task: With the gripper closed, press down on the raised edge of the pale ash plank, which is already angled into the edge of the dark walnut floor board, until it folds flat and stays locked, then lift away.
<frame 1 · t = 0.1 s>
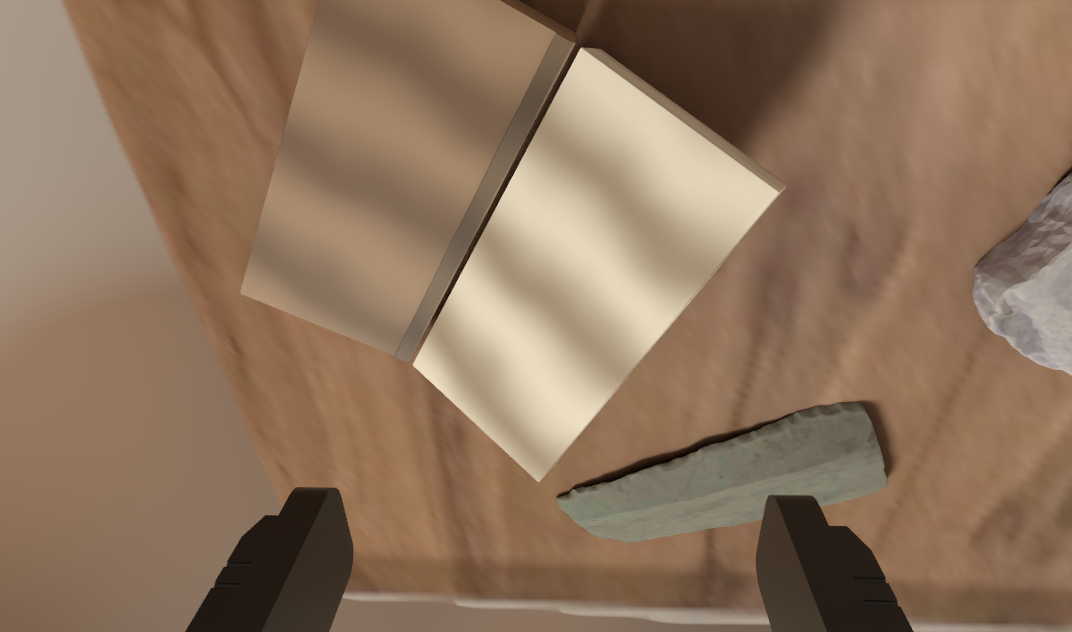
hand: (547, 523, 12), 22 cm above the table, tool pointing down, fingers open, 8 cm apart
stone slab: (713, 478, 46), on the table
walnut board: (393, 169, 32), on the table
ash plank: (565, 291, 31), point 4 cm above the table, hinge at 30.0°
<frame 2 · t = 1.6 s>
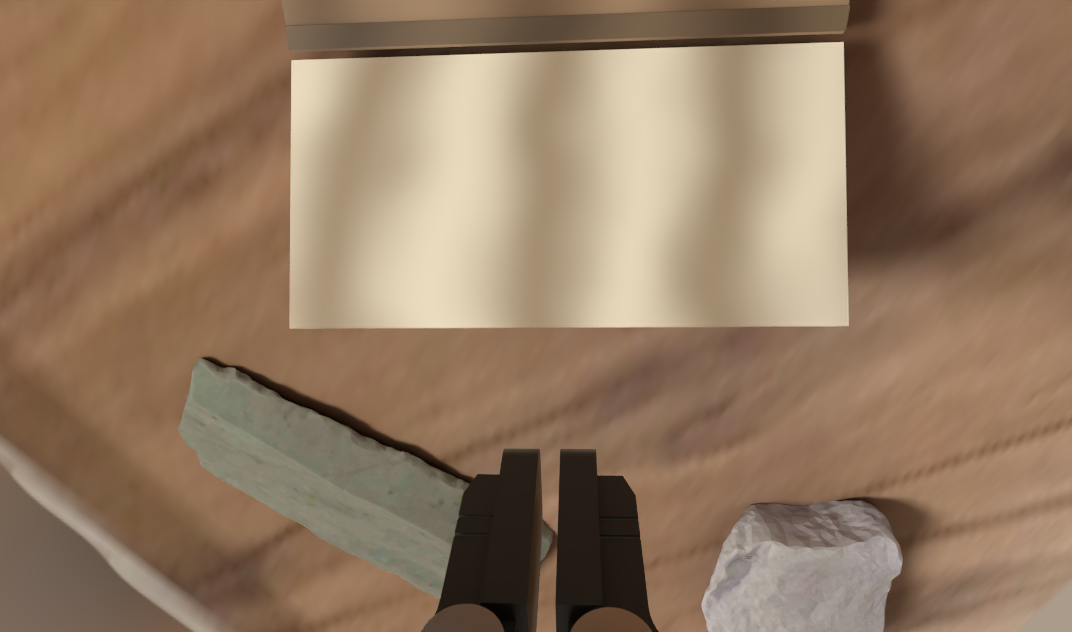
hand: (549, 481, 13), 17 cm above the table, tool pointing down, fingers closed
stone slab: (363, 484, 37), on the table
ash plank: (561, 194, 23), point 4 cm above the table, hinge at 30.0°
stone block: (778, 563, 38), on the table
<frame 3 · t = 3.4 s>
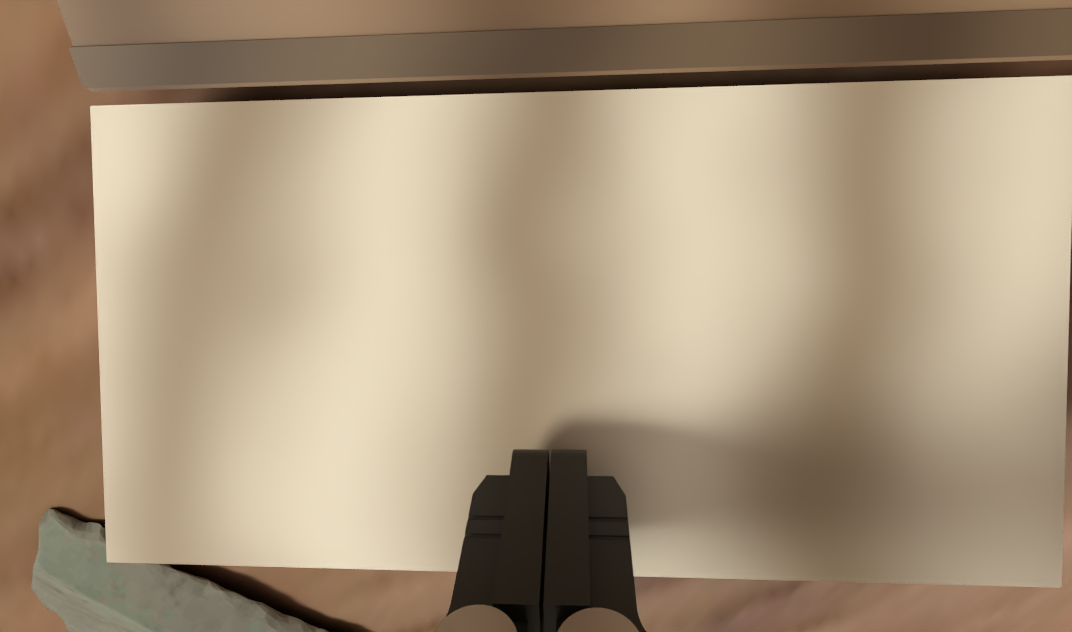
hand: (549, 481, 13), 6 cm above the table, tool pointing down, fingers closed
ash plank: (557, 333, 14), point 3 cm above the table, hinge at 26.4°, touching gripper
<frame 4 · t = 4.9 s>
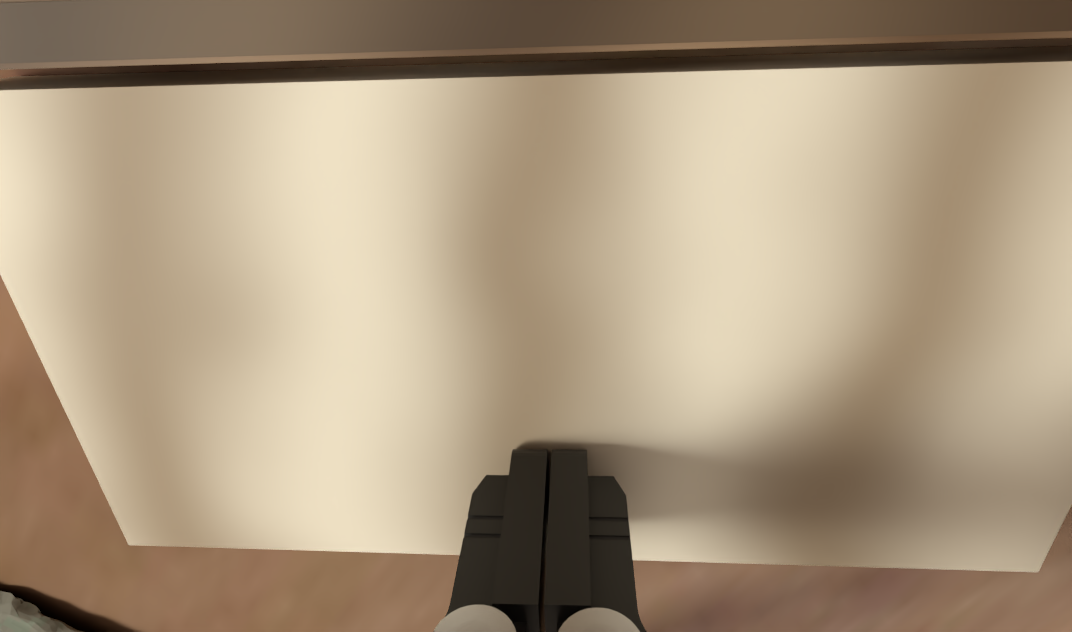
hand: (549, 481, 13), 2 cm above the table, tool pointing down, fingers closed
ash plank: (556, 338, 12), point 1 cm above the table, hinge at 1.7°, touching gripper
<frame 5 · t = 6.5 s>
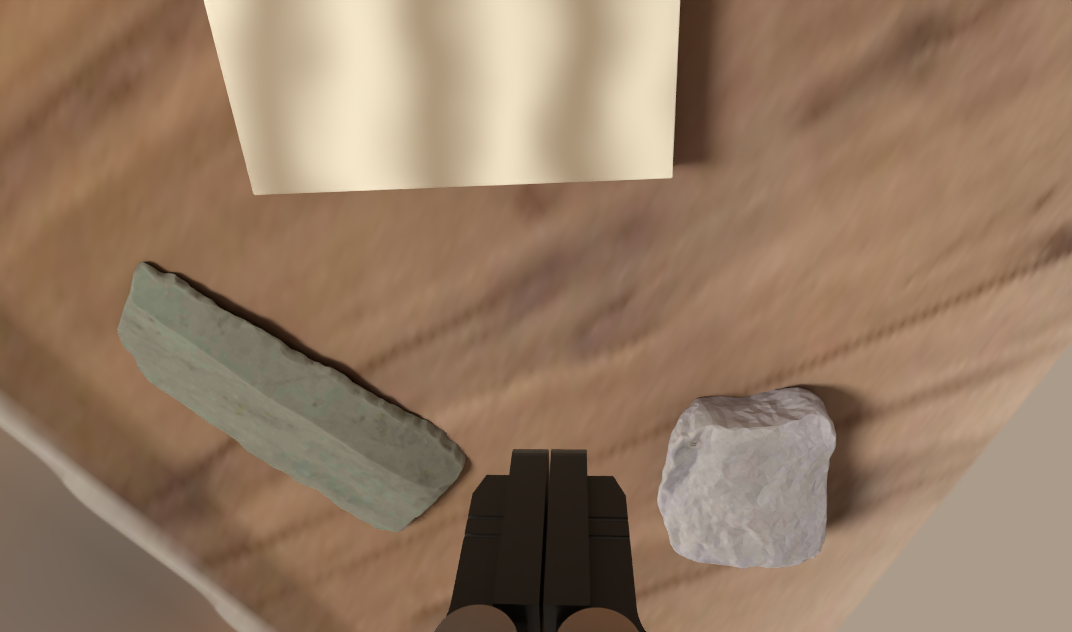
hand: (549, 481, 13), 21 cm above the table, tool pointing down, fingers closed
stone slab: (291, 401, 40), on the table
ash plank: (450, 71, 28), point 1 cm above the table, hinge at 1.7°
stone block: (730, 460, 40), on the table
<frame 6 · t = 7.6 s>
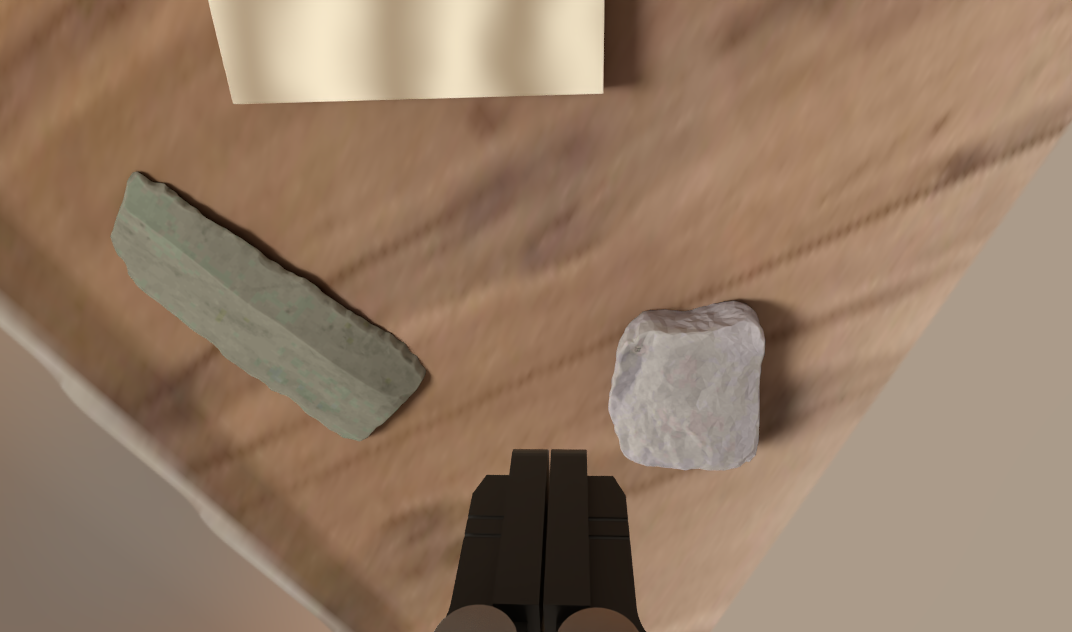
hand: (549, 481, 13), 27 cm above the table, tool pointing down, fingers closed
stone slab: (268, 312, 44), on the table
stone block: (676, 374, 44), on the table
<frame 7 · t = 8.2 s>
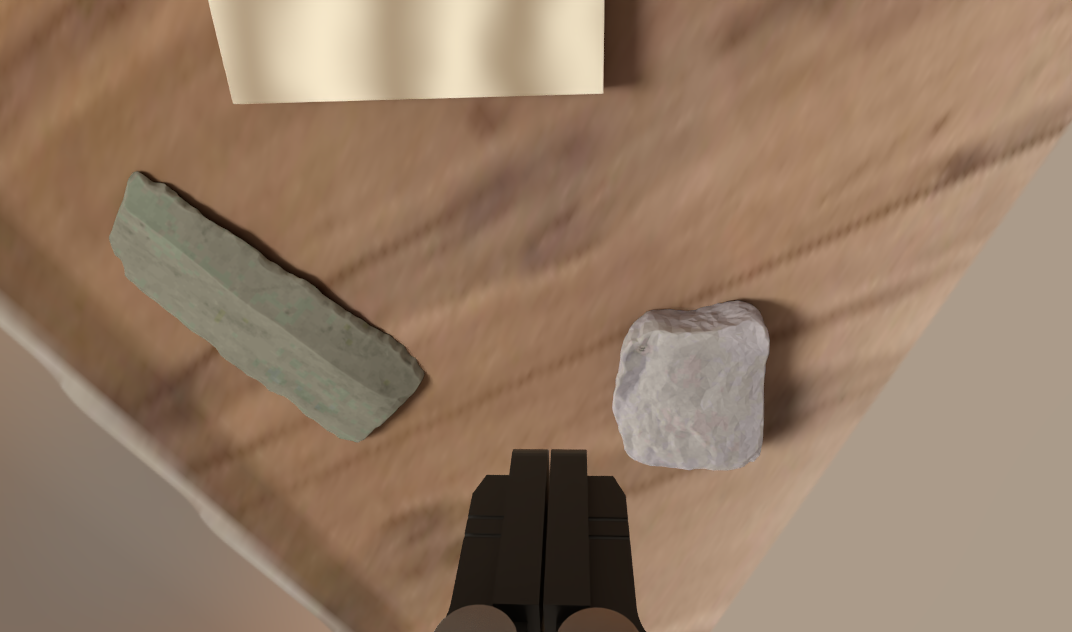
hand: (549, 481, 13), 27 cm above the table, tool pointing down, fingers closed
stone slab: (267, 313, 44), on the table
stone block: (680, 374, 44), on the table
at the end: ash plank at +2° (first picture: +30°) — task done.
